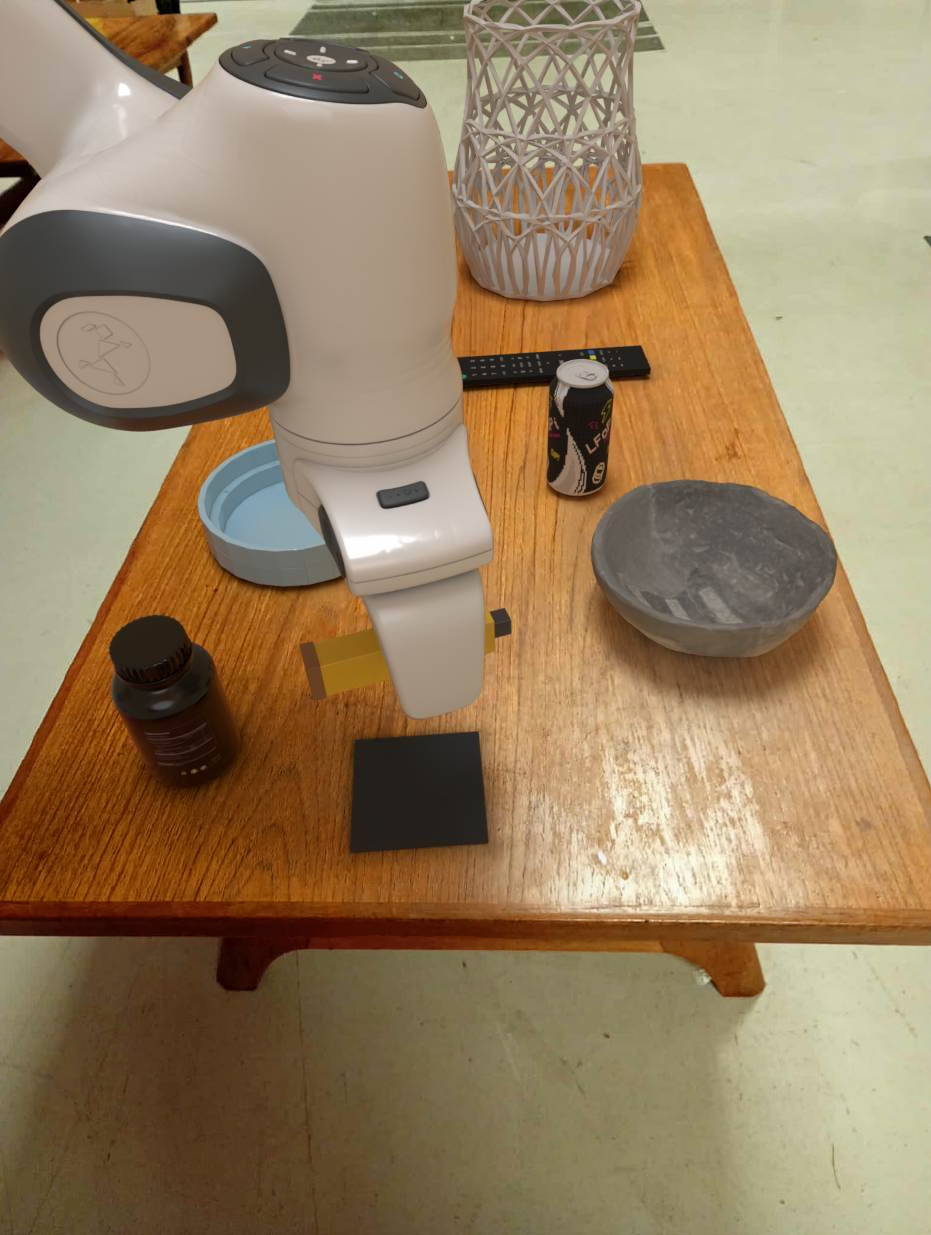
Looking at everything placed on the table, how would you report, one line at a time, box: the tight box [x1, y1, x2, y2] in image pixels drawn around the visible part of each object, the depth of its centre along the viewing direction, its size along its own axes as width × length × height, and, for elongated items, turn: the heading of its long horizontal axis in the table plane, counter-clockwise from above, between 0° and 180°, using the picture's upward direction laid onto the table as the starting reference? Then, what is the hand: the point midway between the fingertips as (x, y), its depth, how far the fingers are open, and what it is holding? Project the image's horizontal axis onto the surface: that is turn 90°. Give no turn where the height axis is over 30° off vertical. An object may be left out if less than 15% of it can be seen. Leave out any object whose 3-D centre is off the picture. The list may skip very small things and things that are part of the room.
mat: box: [350, 730, 489, 854], centre depth 61 cm, size 9×9×1 cm
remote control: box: [456, 344, 652, 387], centre depth 100 cm, size 5×24×1 cm, turn 94°
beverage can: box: [545, 359, 615, 497], centre depth 81 cm, size 6×6×12 cm
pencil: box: [298, 603, 512, 702], centre depth 52 cm, size 12×2×3 cm, turn 108°
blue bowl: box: [196, 438, 342, 587], centre depth 81 cm, size 17×17×4 cm
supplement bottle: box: [108, 614, 242, 790], centre depth 60 cm, size 7×7×12 cm
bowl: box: [590, 478, 838, 658], centre depth 70 cm, size 18×18×8 cm
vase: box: [451, 0, 643, 302], centre depth 110 cm, size 24×24×30 cm
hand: (399, 646), depth 52 cm, fingers closed on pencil, 2 cm apart
